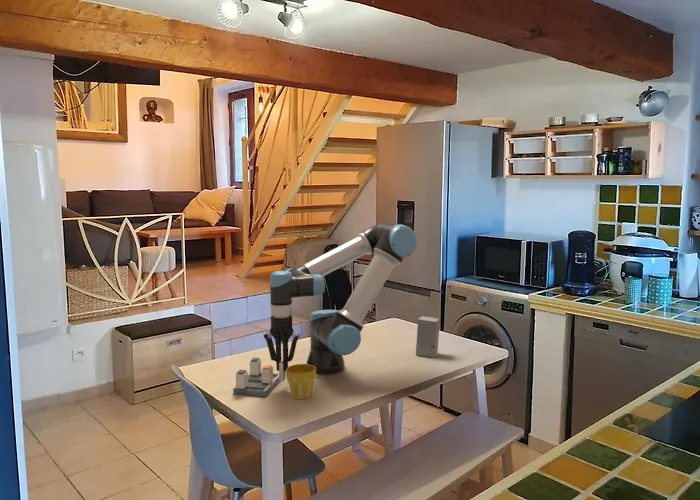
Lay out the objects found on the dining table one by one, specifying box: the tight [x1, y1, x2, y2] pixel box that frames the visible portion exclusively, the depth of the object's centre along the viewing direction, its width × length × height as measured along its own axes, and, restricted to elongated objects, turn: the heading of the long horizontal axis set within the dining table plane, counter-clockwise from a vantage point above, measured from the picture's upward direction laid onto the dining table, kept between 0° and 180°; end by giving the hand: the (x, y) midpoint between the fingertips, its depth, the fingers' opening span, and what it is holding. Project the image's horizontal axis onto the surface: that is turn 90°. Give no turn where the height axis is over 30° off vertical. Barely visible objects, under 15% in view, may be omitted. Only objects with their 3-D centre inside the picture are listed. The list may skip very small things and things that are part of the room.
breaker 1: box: [235, 369, 249, 389], centre depth 195 cm, size 3×4×6 cm
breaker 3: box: [261, 364, 274, 383], centre depth 200 cm, size 3×4×6 cm
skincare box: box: [415, 315, 441, 359], centre depth 236 cm, size 8×7×16 cm
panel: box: [232, 372, 281, 398], centre depth 201 cm, size 12×17×2 cm
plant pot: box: [285, 363, 317, 400], centre depth 193 cm, size 10×10×10 cm
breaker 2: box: [249, 357, 262, 375], centre depth 208 cm, size 3×4×6 cm
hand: (282, 379), depth 199 cm, fingers closed
